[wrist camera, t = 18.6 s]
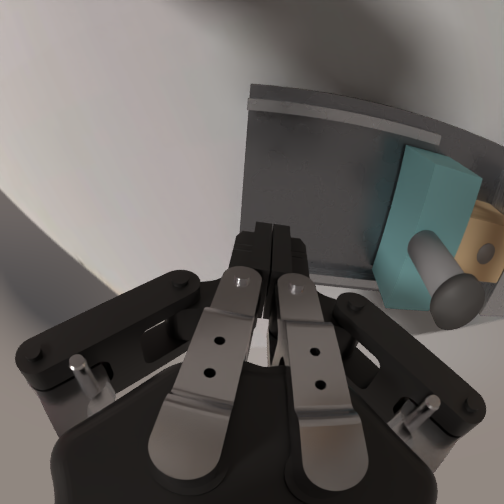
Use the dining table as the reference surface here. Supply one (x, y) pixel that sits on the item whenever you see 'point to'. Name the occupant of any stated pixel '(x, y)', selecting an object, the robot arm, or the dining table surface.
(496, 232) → the block
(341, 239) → the frame
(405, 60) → the dining table surface
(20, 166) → the dining table surface
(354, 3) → the dining table surface
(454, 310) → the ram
